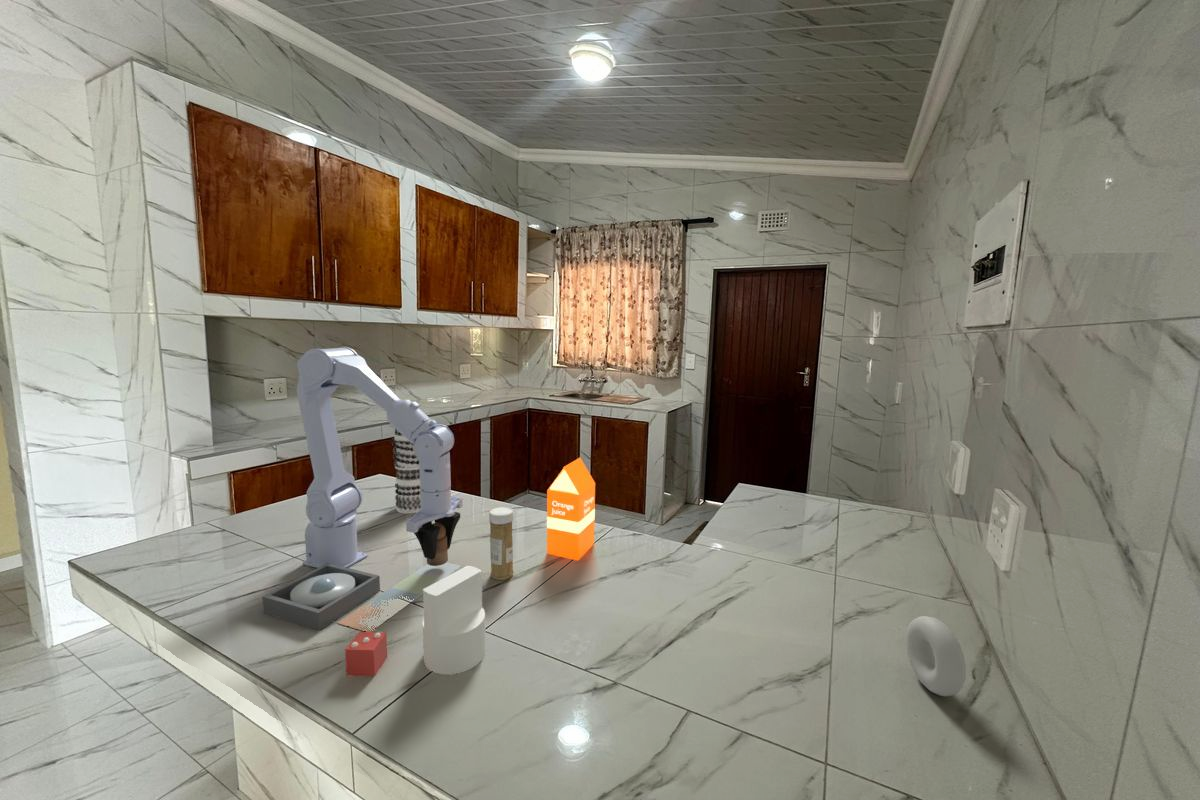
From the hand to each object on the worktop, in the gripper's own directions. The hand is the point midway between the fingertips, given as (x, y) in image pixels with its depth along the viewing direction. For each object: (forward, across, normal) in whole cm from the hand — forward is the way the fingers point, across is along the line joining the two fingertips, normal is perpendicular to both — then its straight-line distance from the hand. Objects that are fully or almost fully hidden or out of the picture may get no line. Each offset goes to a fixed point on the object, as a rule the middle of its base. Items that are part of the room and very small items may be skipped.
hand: (437, 552), depth 99 cm
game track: (+4, -9, 0) cm, 10 cm away
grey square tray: (+4, -17, +11) cm, 21 cm away
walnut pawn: (+2, 0, 0) cm, 2 cm away
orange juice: (+4, +19, -21) cm, 29 cm away
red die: (+4, -27, -9) cm, 29 cm away
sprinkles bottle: (+4, +3, -13) cm, 14 cm away
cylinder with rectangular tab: (+4, -20, -19) cm, 28 cm away
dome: (+3, -17, +11) cm, 20 cm away
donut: (+3, -1, -85) cm, 85 cm away
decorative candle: (+4, +25, +28) cm, 38 cm away
